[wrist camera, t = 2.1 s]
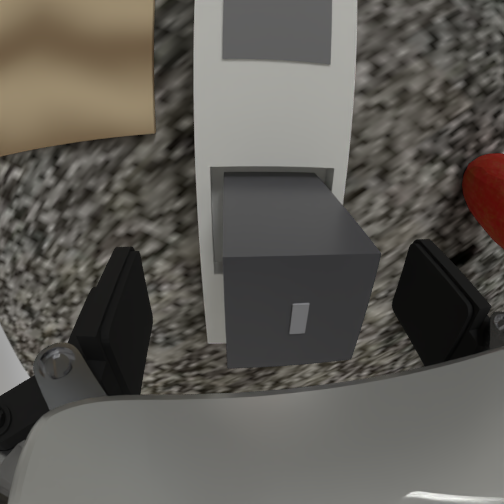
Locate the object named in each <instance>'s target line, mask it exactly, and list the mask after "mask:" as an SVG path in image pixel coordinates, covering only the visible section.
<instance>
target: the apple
mask: <svg viewBox="0 0 504 504" xmlns="http://www.w3.org/2000/svg"><path fill="white" fill-rule="evenodd" d="M462 188H463V195H464V198H465V201H466V203H467V206H468V208H469V210H470V211H471V213H472V214H473V216H474V217H475V218H476V220H477V221H478V222H479V224H480V225H481V226H482V227H483V229H484V230H485V231H486V232H487V233H488V234H489V236H490V237H491V238H492V239H493V240H494V241H495V242H496V243H497V244H498V245H499V246H501V247H502V248H503V249H504V154H500V153H496V154H486V155H483V156H480V157H478V158H476V159H475V160H474V161H472V162H471V163H469V165H468V167H467V169H466V171H465V173H464V176H463V182H462Z"/></svg>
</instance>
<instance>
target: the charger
mask: <svg viewBox="0 0 504 504" xmlns="http://www.w3.org/2000/svg"><path fill="white" fill-rule="evenodd" d="M380 257H381V252H380V251H379V250H378V249H377V247H376V246H375V245H374V243H373V242H372V241H371V240H370V238H369V237H368V236H367V235H366V233H365V232H364V231H363V230H362V228H361V227H360V226H359V225H358V223H357V222H356V221H355V220H354V218H353V217H352V216H351V215H350V213H349V212H348V211H347V210H346V209H345V207H344V206H343V205H342V204H341V203H340V201H339V200H338V199H337V198H336V197H335V196H334V194H333V193H332V192H331V191H330V190H329V189H328V187H327V186H326V185H325V184H324V183H323V182H322V180H321V179H320V178H319V177H318V176H317V175H316V174H315V173H309V172H224V186H223V281H224V307H225V329H226V350H227V368H253V367H272V366H287V365H300V364H312V363H322V362H332V361H341V360H349V359H351V358H352V355H353V352H354V349H355V346H356V343H357V340H358V336H359V333H360V330H361V327H362V323H363V320H364V317H365V313H366V310H367V306H368V303H369V299H370V296H371V292H372V288H373V284H374V281H375V277H376V273H377V269H378V265H379V261H380Z"/></svg>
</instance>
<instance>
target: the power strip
mask: <svg viewBox="0 0 504 504" xmlns="http://www.w3.org/2000/svg"><path fill="white" fill-rule="evenodd" d="M356 43H357V0H195V7H194V139H195V169H196V192H197V211H198V229H199V244H200V259H201V272H202V285H203V297H204V308H205V319H206V329H207V339H208V344H222V343H226V329H225V307H224V281H223V186H224V172H309V173H315V174H316V175H317V176H318V177H319V178H320V179H321V180H322V182H323V183H324V184H325V185H326V186H327V187H328V189H329V190H330V191H331V192H332V193H333V194H334V196H335V197H336V198H337V199H338V200H339V201H340V203H341V204H342V205H343V199H344V191H345V183H346V175H347V166H348V157H349V148H350V137H351V127H352V115H353V101H354V86H355V68H356Z"/></svg>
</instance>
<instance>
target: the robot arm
mask: <svg viewBox="0 0 504 504" xmlns="http://www.w3.org/2000/svg"><path fill="white" fill-rule="evenodd" d="M392 308H393V311H394V313H395V315H396V316H397V318H398V320H399V321H400V323H401V325H402V326H403V328H404V330H405V332H406V333H407V335H408V337H409V338H410V340H411V342H412V344H413V346H414V347H415V349H416V351H417V353H418V354H419V356H420V358H421V360H422V362H423V364H424V365H425V367H421V368H417V369H412V370H408V371H403V372H398V373H393V374H388V375H382V376H377V377H371V378H366V379H360V380H353V381H347V382H340V383H333V384H326V385H318V386H310V387H301V388H291V389H281V390H270V391H256V392H240V393H217V394H179V395H159V394H153V395H140V393H141V386H142V380H143V374H144V368H145V362H146V357H147V351H148V346H149V340H150V335H151V330H152V324H153V316H152V311H151V306H150V302H149V297H148V292H147V287H146V282H145V277H144V272H143V267H142V262H141V256H140V253H139V251H134V248H133V247H116V248H115V249H114V251H113V253H112V255H111V257H110V259H109V261H108V263H107V265H106V268H105V270H104V272H103V274H102V276H101V278H100V280H99V282H98V285H97V287H93V288H92V289H91V291H90V293H89V295H88V297H87V299H86V301H85V303H84V306H83V308H82V310H81V312H80V315H79V317H78V319H77V322H76V324H75V326H74V329H73V331H72V334H71V336H70V338H69V341H68V343H55V344H52V345H50V346H48V347H46V348H45V349H43V350H42V351H41V352H40V353H39V354H38V355H37V357H36V359H35V361H34V365H33V371H34V376H33V377H31V378H29V379H28V380H26V381H24V382H23V383H21V384H19V385H18V386H16V387H14V388H13V389H11V390H9V391H8V392H6V393H4V394H3V395H1V396H0V504H504V312H494V313H493V314H492V315H491V317H490V318H489V317H488V315H487V314H488V312H489V310H490V308H491V305H490V304H489V303H488V302H487V301H486V300H485V298H484V297H483V296H482V295H481V294H480V293H479V291H478V290H477V289H476V288H475V287H474V286H473V284H472V283H471V282H470V281H469V280H468V279H467V278H466V277H465V276H464V274H463V273H462V272H461V271H460V270H459V269H458V268H457V267H456V266H455V265H454V264H453V263H452V261H451V260H450V259H449V258H448V257H447V256H446V255H445V254H444V253H443V252H442V251H441V250H440V249H439V248H438V247H437V246H436V245H435V244H434V243H433V242H432V241H431V240H430V239H417V240H415V241H414V242H413V244H411V245H410V247H409V250H408V253H407V257H406V260H405V264H404V267H403V270H402V274H401V277H400V280H399V283H398V286H397V289H396V292H395V295H394V298H393V302H392Z"/></svg>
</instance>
